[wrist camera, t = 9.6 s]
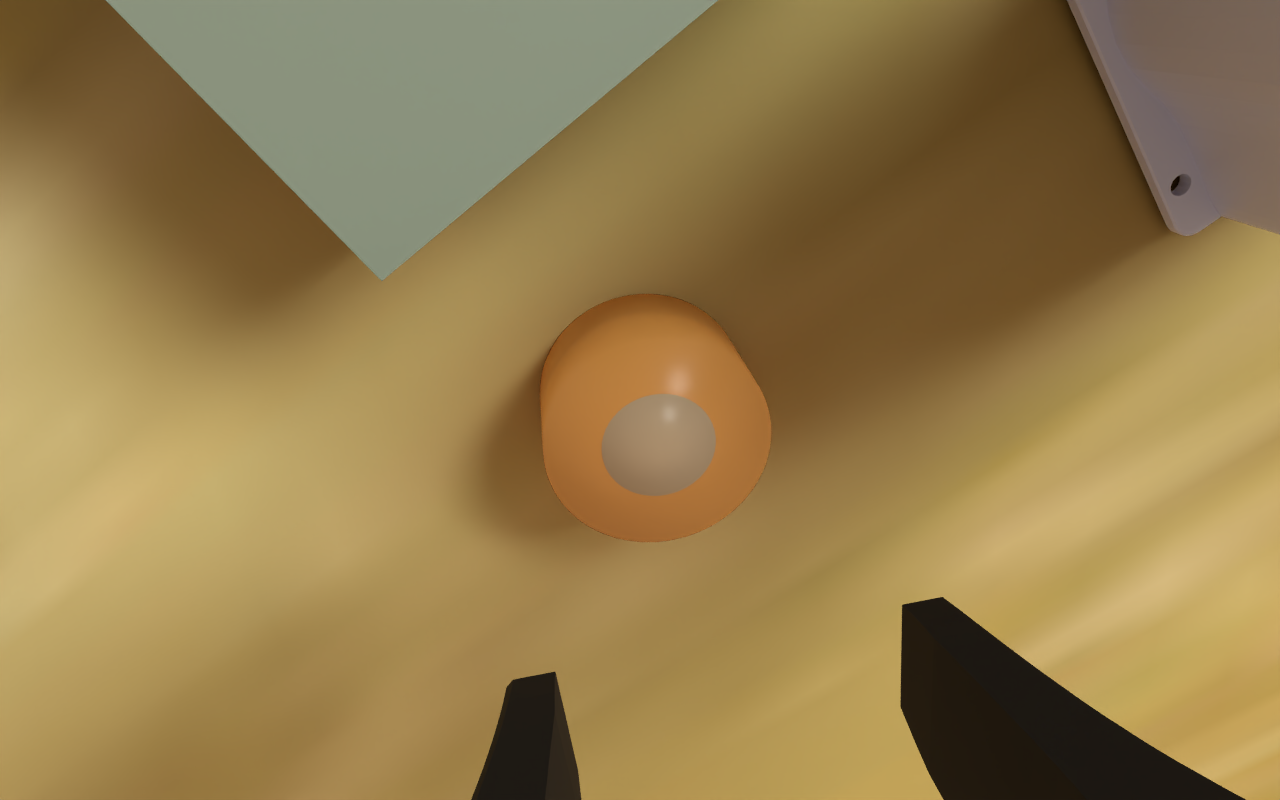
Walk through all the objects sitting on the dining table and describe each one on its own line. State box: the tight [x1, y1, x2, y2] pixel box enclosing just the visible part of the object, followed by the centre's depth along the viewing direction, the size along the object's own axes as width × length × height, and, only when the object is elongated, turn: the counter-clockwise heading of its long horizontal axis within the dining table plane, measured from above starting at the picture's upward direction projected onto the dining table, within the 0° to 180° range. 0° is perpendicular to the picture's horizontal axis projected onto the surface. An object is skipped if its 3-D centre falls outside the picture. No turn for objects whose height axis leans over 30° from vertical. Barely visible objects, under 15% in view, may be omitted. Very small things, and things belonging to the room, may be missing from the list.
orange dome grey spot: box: [540, 294, 771, 542], centre depth 20 cm, size 5×5×3 cm
